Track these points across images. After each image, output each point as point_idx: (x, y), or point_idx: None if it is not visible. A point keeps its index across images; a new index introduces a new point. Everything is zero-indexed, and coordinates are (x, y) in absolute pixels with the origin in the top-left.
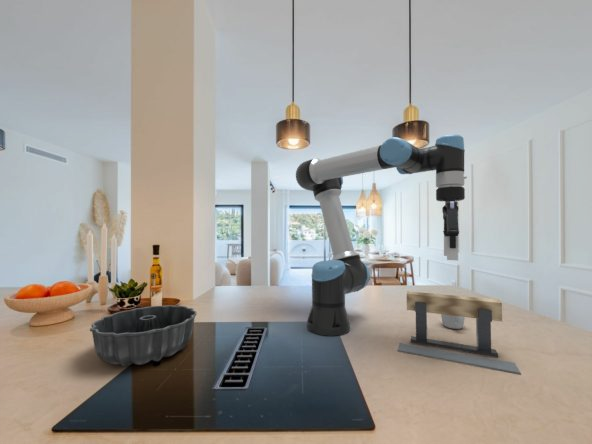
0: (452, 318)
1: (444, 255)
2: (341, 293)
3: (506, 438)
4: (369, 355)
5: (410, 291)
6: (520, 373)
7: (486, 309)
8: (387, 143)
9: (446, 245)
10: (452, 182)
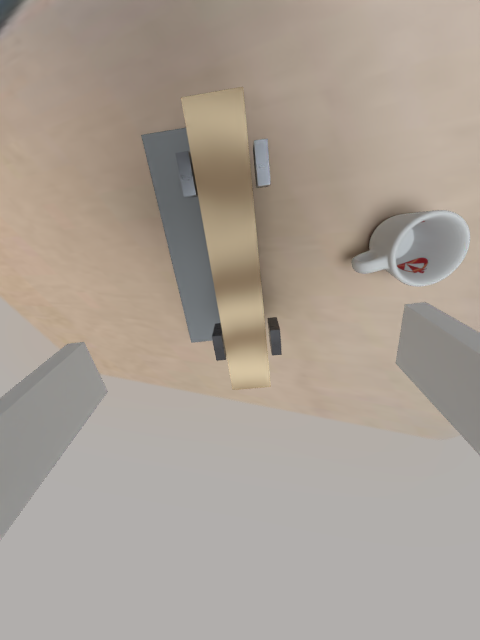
0: (377, 246)
1: (406, 308)
2: None
3: (19, 313)
4: (70, 70)
5: (242, 104)
6: (191, 341)
7: (220, 351)
8: None
9: (473, 376)
10: None
